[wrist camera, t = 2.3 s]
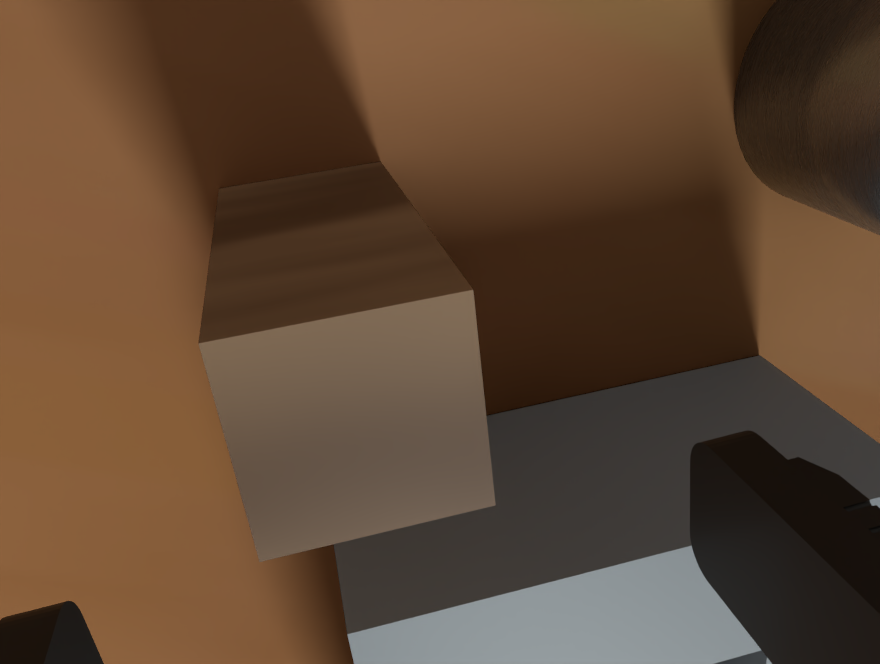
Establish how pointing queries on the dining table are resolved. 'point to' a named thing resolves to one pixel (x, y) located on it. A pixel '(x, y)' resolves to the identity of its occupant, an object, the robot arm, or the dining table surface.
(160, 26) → the dining table surface
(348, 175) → the square peg
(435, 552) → the socket block
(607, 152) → the dining table surface
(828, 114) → the round peg
